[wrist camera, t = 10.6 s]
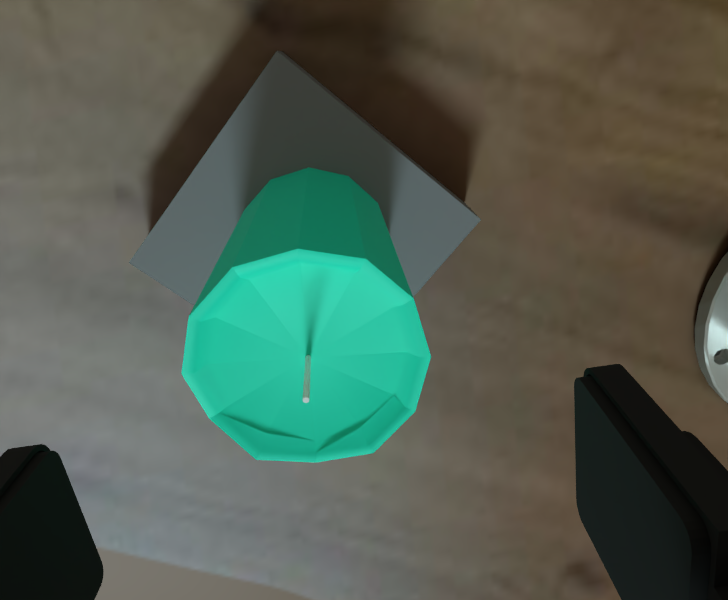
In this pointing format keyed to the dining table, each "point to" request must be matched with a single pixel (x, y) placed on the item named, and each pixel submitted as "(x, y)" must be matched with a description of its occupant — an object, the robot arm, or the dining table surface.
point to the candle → (307, 326)
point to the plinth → (290, 154)
